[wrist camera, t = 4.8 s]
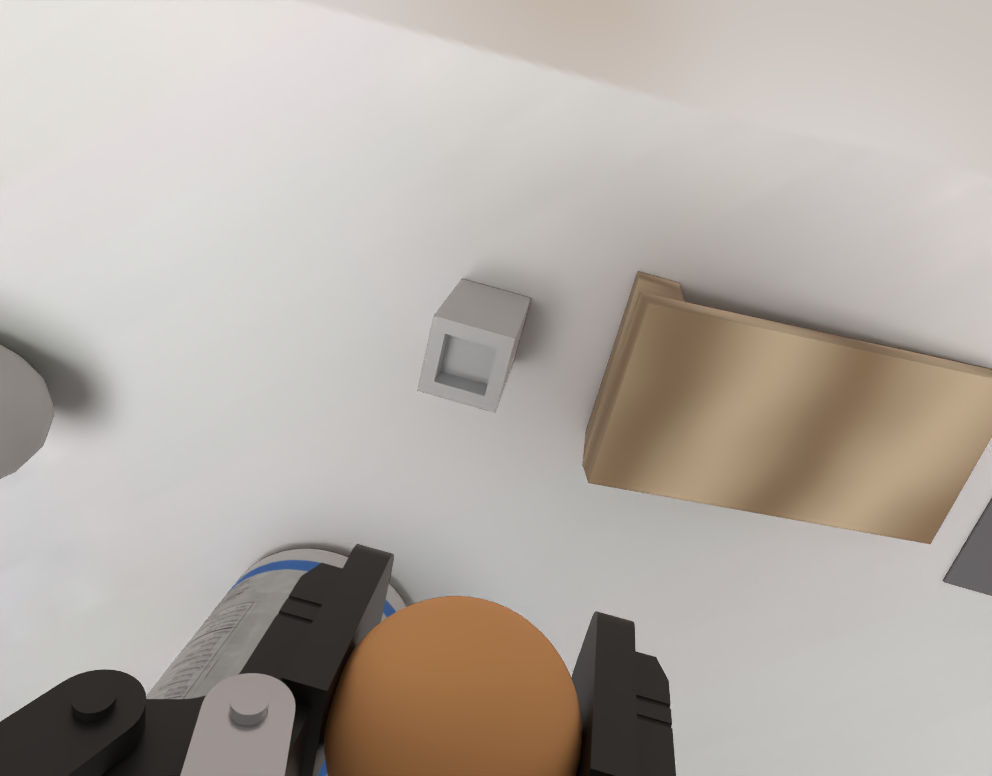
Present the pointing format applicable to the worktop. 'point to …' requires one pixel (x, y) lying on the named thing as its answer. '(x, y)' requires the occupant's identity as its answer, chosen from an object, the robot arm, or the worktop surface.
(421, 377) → the hollow grey box
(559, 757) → the ball
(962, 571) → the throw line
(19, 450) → the donut
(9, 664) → the worktop surface
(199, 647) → the supplement tub
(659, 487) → the ramp
